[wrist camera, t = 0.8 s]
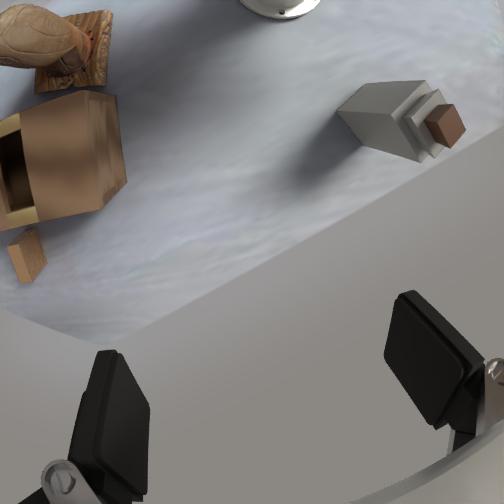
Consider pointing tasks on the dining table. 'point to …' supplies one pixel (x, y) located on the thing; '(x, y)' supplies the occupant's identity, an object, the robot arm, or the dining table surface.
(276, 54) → the dining table surface
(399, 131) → the perfume bottle
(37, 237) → the tan flat square block
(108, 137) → the box
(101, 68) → the bird sculpture
